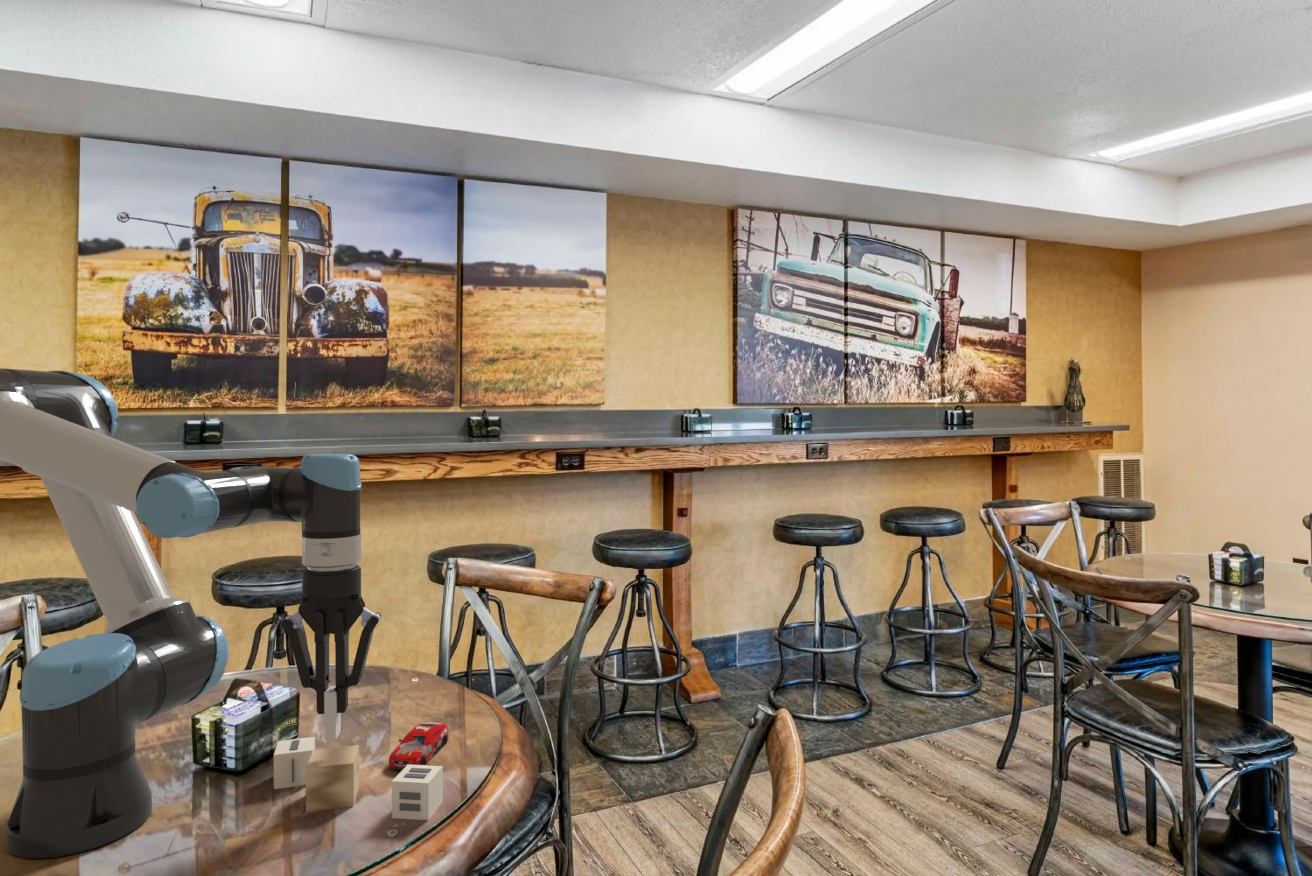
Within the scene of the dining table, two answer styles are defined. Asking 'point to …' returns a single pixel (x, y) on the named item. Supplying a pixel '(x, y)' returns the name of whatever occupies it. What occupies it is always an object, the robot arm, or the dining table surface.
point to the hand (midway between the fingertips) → (332, 735)
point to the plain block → (332, 778)
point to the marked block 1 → (292, 762)
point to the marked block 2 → (417, 792)
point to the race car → (419, 745)
